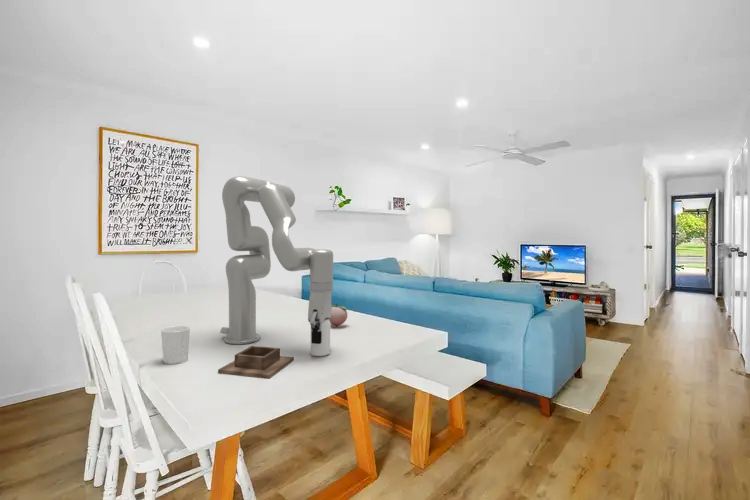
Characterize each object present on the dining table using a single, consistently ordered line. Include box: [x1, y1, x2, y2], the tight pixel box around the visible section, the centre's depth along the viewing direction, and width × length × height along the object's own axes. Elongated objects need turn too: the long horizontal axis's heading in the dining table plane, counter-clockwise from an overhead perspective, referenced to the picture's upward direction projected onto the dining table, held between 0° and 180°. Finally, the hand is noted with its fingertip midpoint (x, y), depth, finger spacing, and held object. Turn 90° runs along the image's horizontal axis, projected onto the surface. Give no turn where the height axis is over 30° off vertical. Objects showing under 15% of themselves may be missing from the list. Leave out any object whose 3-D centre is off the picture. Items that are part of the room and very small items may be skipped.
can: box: [309, 317, 331, 358], centre depth 129 cm, size 6×6×12 cm
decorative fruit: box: [329, 303, 348, 328], centre depth 167 cm, size 9×8×10 cm
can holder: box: [217, 345, 295, 379], centre depth 117 cm, size 16×16×4 cm
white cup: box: [160, 325, 191, 365], centre depth 121 cm, size 8×8×10 cm
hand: (320, 339), depth 129 cm, fingers closed on can, 6 cm apart
